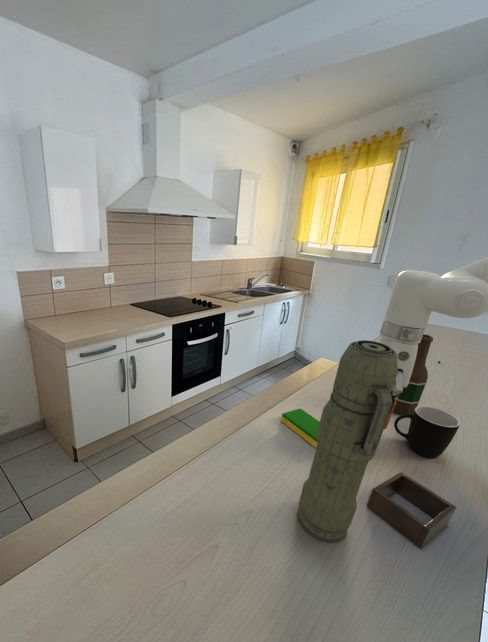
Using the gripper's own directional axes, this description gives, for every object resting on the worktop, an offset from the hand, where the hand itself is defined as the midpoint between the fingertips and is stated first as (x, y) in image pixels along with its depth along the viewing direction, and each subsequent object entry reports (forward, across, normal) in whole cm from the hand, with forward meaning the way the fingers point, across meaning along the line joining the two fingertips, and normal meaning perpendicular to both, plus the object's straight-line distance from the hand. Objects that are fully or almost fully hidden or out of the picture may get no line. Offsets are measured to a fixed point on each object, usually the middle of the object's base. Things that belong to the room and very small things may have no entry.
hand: (377, 402), depth 75 cm
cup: (+5, 0, 0) cm, 5 cm away
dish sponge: (+13, +3, +13) cm, 19 cm away
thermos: (+13, -26, +13) cm, 31 cm away
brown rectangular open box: (+13, -19, -4) cm, 24 cm away
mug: (+13, +5, -14) cm, 20 cm away
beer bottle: (+13, +24, -16) cm, 32 cm away
